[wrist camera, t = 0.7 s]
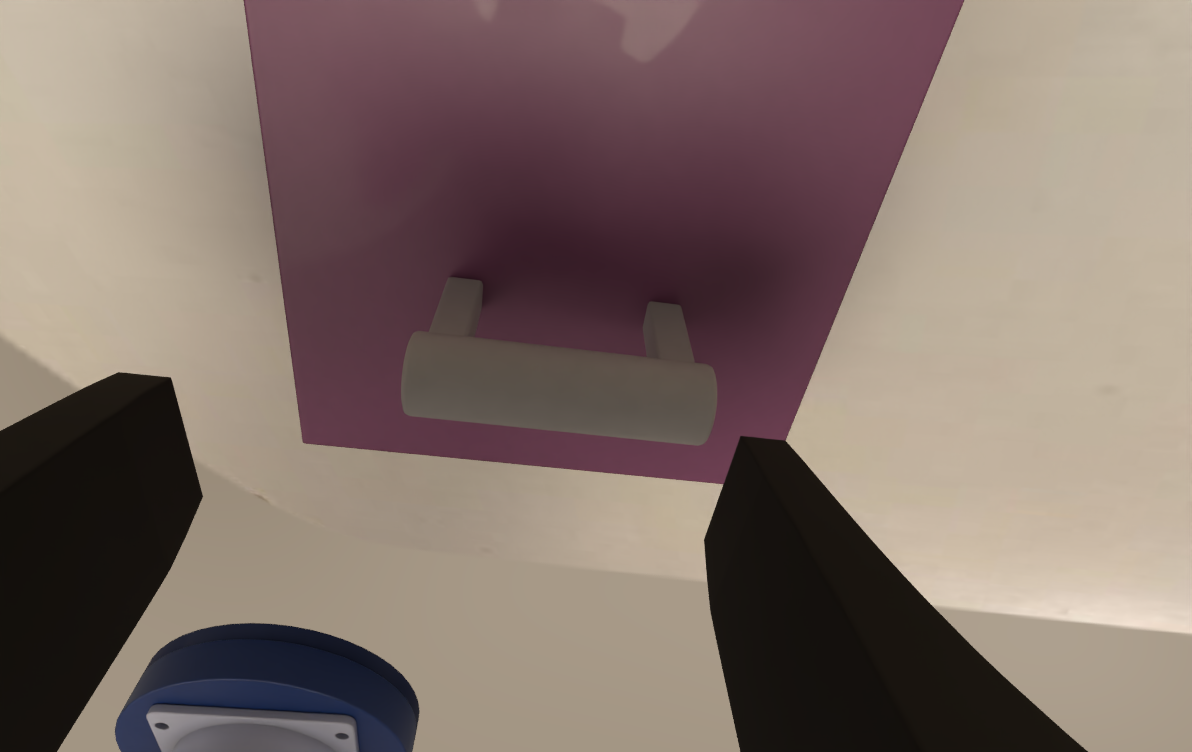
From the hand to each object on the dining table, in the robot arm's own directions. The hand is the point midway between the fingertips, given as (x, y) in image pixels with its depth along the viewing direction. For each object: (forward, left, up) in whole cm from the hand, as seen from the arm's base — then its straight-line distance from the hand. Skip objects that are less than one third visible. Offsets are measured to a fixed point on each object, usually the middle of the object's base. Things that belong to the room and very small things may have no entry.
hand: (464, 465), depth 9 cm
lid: (+2, -1, -6) cm, 6 cm away
